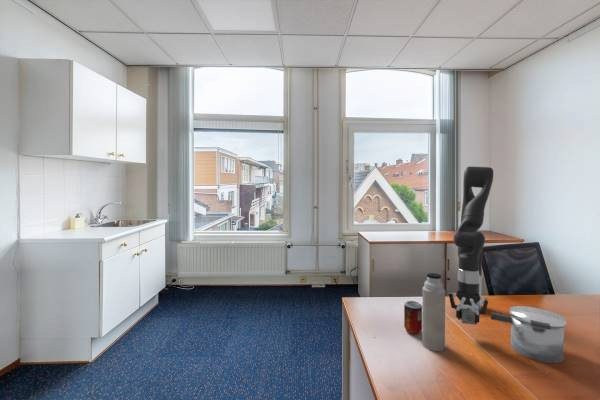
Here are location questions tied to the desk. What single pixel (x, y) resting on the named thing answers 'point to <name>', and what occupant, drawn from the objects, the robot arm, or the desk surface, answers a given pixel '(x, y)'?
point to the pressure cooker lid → (538, 317)
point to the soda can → (413, 317)
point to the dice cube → (467, 315)
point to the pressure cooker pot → (534, 340)
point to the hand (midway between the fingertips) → (467, 320)
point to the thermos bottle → (433, 313)
